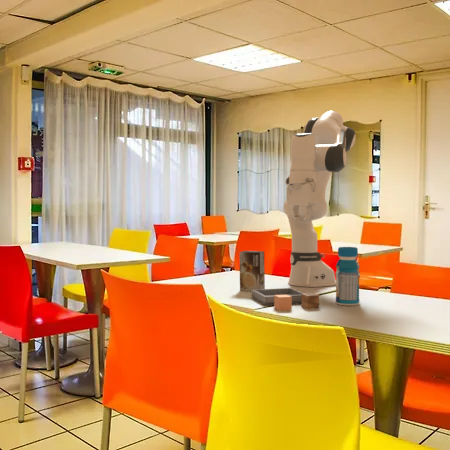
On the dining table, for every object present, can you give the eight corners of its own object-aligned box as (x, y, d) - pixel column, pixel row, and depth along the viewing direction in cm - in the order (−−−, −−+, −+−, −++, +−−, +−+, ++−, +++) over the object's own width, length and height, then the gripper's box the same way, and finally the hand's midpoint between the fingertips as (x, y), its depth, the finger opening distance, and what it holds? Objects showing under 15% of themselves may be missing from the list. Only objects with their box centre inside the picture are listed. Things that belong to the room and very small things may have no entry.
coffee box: (265, 290, 221) (265, 251, 220) (260, 292, 215) (260, 252, 214) (244, 288, 224) (244, 250, 224) (239, 291, 218) (238, 251, 218)
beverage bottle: (346, 307, 185) (346, 249, 184) (330, 303, 193) (330, 247, 192) (364, 304, 189) (365, 247, 188) (348, 300, 197) (349, 246, 196)
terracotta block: (286, 307, 185) (286, 294, 185) (291, 310, 181) (291, 296, 181) (274, 308, 184) (274, 295, 184) (279, 310, 180) (279, 297, 180)
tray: (291, 295, 208) (291, 287, 208) (307, 303, 192) (307, 294, 192) (251, 297, 204) (251, 289, 204) (265, 305, 188) (265, 297, 188)
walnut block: (313, 306, 188) (313, 293, 188) (319, 308, 184) (319, 295, 183) (301, 306, 187) (301, 293, 187) (306, 309, 182) (306, 295, 182)
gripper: (323, 178, 179) (322, 219, 179) (300, 180, 199) (299, 218, 199) (305, 177, 177) (304, 219, 178) (283, 180, 197) (282, 218, 197)
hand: (301, 219), depth 188 cm, fingers open, 8 cm apart
